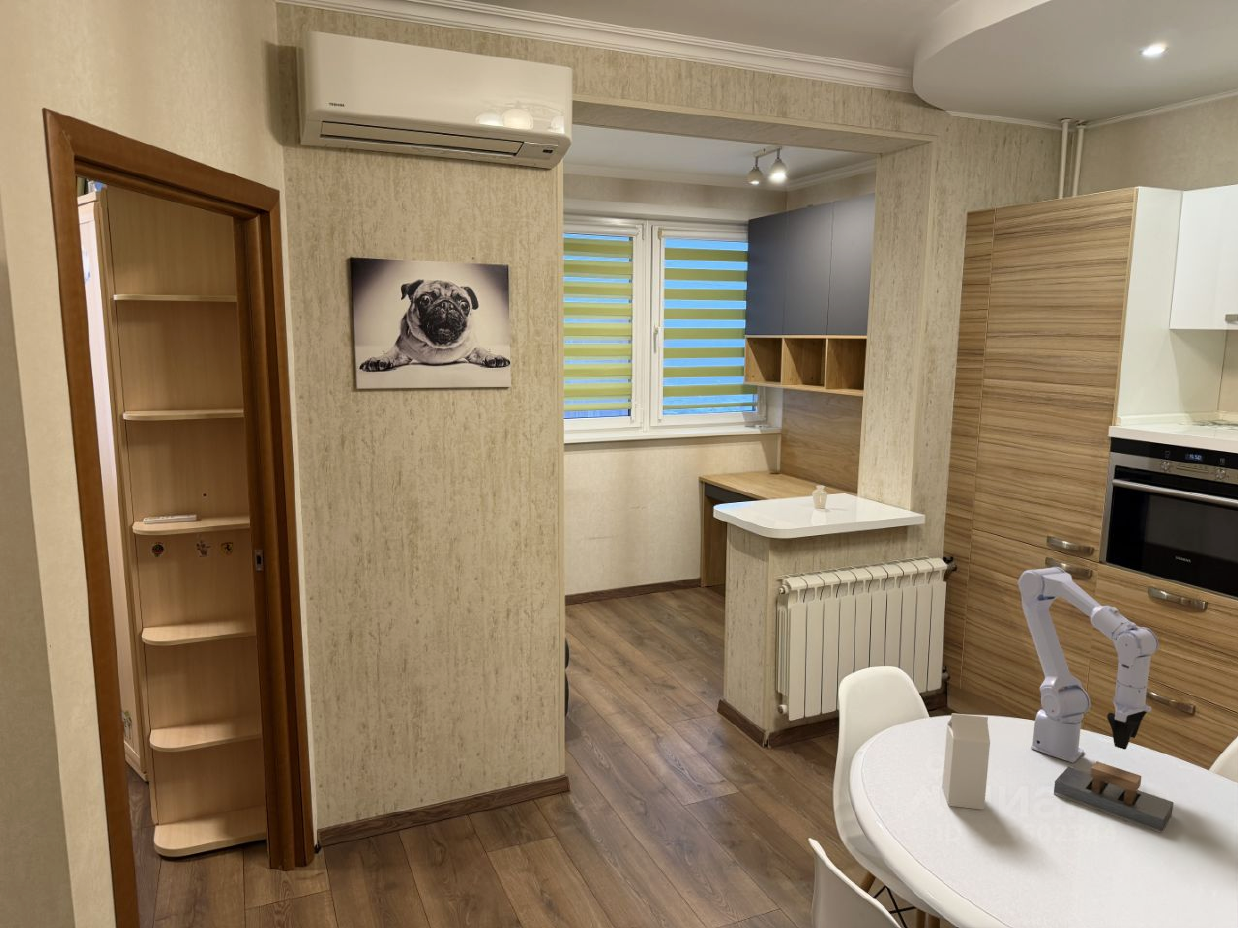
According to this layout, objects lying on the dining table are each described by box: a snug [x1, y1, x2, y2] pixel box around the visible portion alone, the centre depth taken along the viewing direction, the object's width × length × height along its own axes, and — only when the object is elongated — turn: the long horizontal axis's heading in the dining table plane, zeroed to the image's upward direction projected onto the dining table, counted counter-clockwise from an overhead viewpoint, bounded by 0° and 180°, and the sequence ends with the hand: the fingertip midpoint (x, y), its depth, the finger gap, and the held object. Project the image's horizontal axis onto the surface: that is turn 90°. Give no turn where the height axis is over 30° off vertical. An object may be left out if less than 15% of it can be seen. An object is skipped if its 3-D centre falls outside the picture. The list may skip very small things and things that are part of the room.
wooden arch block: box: [1089, 761, 1142, 805], centre depth 174 cm, size 8×4×7 cm, turn 45°
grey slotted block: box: [1053, 766, 1175, 834], centre depth 174 cm, size 20×9×3 cm, turn 46°
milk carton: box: [941, 712, 991, 810], centre depth 174 cm, size 7×7×19 cm
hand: (1125, 741), depth 181 cm, fingers open, 7 cm apart
